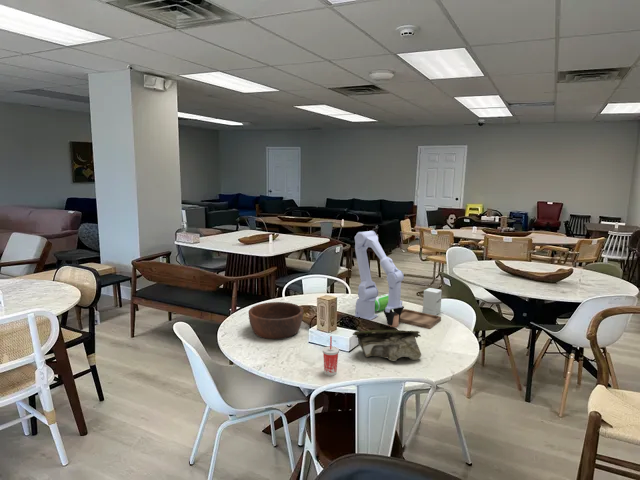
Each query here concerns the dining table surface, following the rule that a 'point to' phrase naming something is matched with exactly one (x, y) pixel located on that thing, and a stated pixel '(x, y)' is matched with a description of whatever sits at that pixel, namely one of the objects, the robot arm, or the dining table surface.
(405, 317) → the walnut tray
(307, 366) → the dining table surface
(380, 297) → the speaker
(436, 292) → the supplement box
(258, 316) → the wooden bowl
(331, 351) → the beverage cup
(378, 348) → the mossy rock
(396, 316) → the terracotta cup
